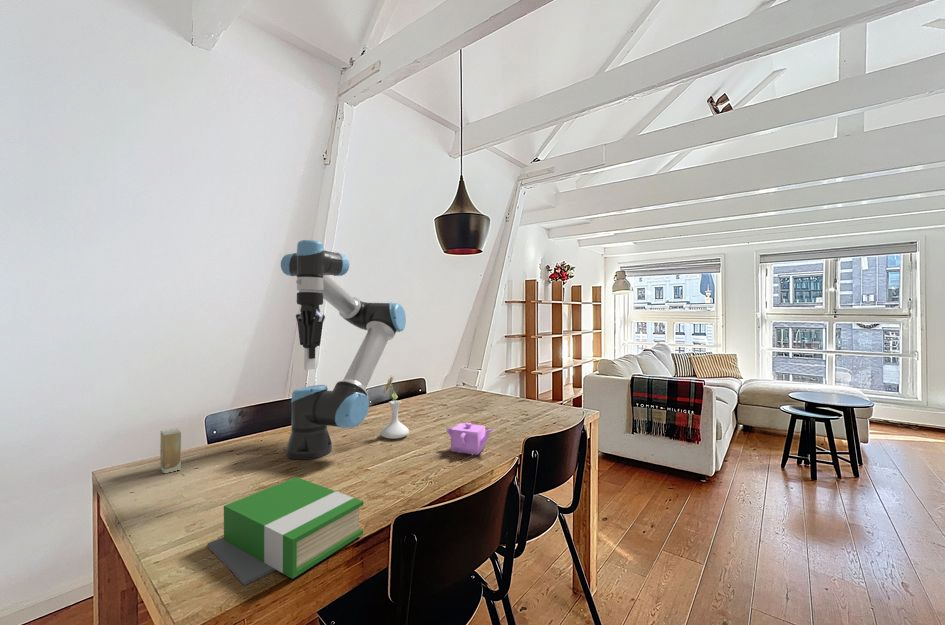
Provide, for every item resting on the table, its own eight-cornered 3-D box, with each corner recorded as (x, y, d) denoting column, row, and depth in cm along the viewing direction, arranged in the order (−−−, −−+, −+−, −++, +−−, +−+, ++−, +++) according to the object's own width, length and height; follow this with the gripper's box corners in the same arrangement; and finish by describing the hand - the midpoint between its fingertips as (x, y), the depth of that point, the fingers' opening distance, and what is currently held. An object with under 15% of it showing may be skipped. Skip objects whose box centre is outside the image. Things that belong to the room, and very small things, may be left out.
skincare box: (159, 469, 126) (159, 430, 126) (176, 465, 129) (176, 427, 129) (163, 475, 122) (163, 434, 122) (181, 470, 125) (181, 431, 125)
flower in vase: (386, 431, 166) (386, 371, 166) (412, 432, 165) (413, 372, 165) (374, 441, 154) (374, 376, 153) (402, 443, 152) (403, 377, 152)
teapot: (498, 448, 148) (499, 421, 147) (488, 462, 134) (488, 432, 134) (453, 443, 153) (453, 416, 153) (438, 455, 140) (439, 426, 140)
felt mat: (207, 546, 86) (207, 543, 86) (305, 507, 103) (305, 504, 103) (244, 585, 74) (244, 582, 74) (348, 534, 91) (348, 531, 91)
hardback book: (296, 476, 103) (363, 501, 90) (296, 505, 103) (363, 533, 90) (223, 505, 87) (292, 539, 75) (223, 539, 88) (292, 578, 75)
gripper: (287, 291, 124) (287, 368, 124) (309, 291, 115) (309, 373, 116) (310, 292, 129) (310, 365, 130) (333, 291, 121) (332, 370, 121)
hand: (309, 369), depth 123 cm, fingers closed
